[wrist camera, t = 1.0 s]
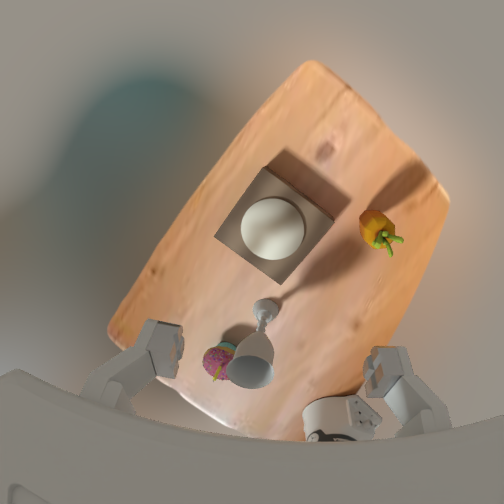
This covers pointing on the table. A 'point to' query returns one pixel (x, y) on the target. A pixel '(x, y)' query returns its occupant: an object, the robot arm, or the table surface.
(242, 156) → the table surface
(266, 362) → the chalice
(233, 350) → the cupcake
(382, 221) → the carrot
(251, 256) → the walnut plinth
